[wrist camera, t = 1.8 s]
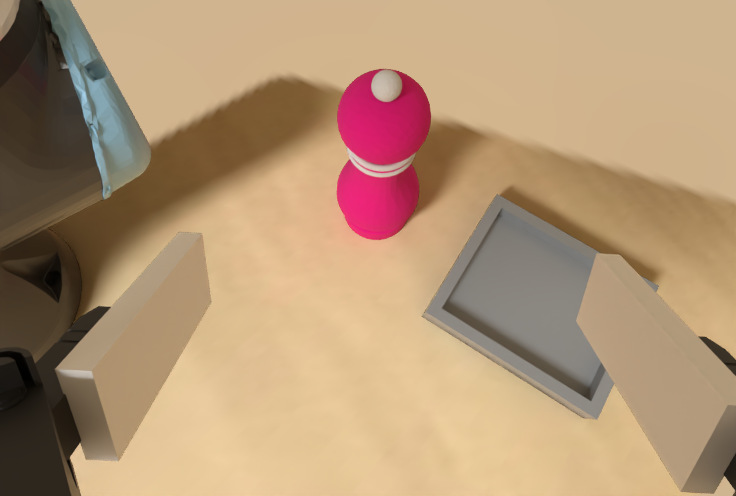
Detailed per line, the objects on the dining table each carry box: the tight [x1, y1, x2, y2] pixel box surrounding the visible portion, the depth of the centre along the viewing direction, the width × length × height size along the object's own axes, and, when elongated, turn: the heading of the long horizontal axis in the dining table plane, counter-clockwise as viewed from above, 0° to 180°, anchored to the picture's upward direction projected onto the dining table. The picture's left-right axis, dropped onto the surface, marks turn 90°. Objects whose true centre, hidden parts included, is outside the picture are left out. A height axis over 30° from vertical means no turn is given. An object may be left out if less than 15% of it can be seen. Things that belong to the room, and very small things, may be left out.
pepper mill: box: [337, 69, 431, 240], centre depth 36 cm, size 7×7×20 cm
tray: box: [422, 194, 659, 419], centre depth 41 cm, size 16×13×2 cm
